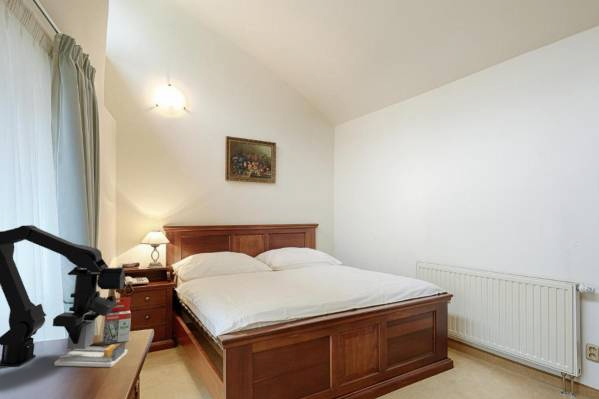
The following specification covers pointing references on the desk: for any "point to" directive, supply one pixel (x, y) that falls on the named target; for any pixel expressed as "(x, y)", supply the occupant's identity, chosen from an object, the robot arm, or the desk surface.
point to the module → (83, 336)
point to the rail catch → (109, 350)
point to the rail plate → (92, 357)
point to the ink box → (118, 322)
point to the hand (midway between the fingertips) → (80, 340)
